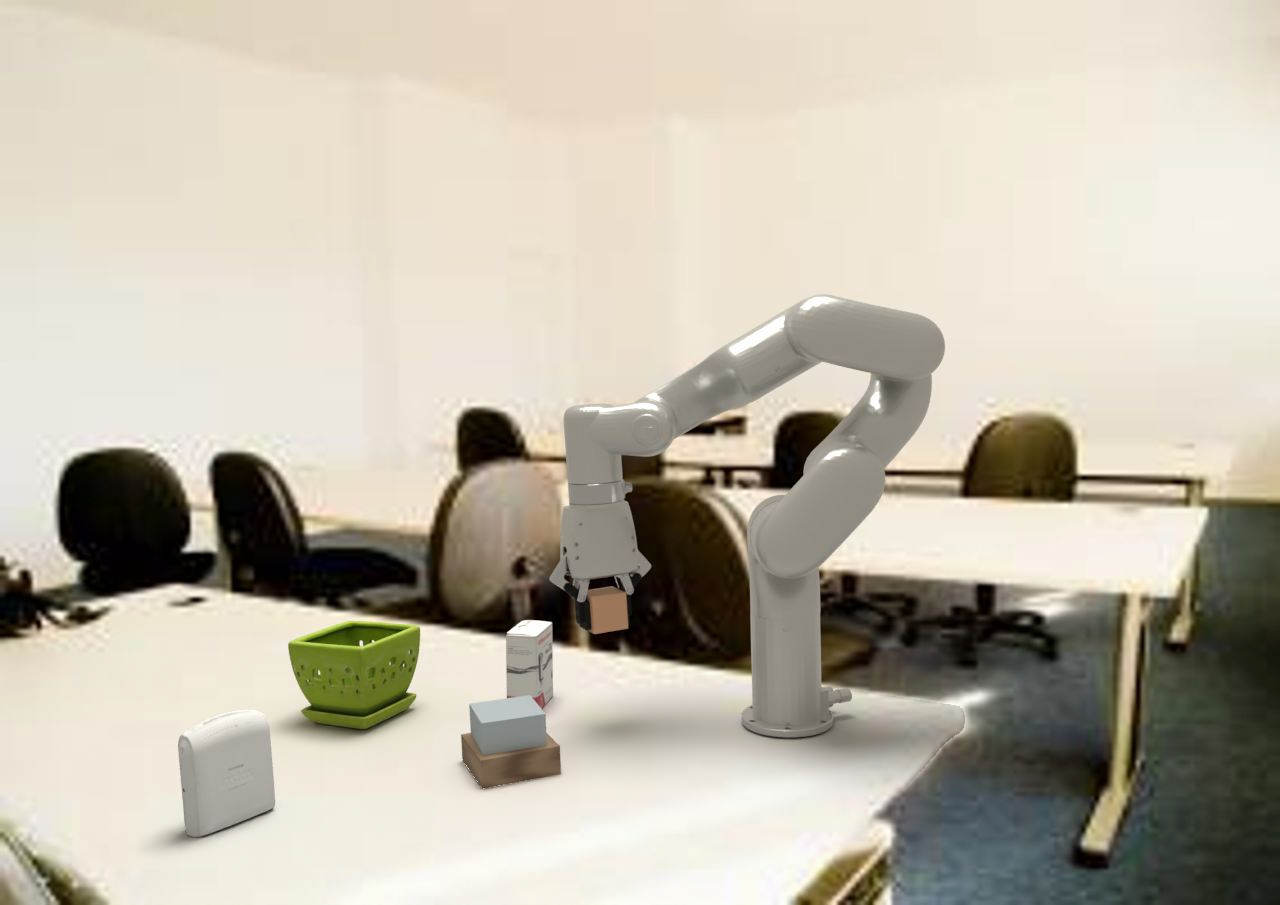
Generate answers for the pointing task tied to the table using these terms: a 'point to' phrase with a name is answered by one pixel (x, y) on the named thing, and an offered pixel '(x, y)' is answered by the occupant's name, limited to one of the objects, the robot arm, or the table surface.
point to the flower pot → (356, 672)
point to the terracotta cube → (607, 609)
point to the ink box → (530, 661)
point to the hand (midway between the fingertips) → (604, 623)
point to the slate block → (507, 724)
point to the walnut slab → (510, 763)
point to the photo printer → (226, 771)
